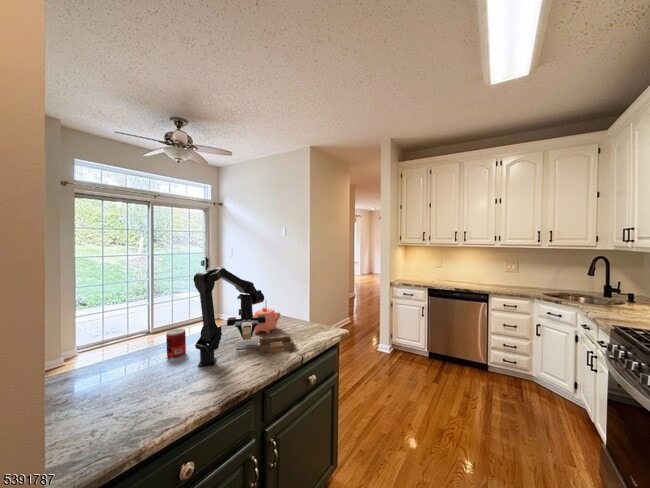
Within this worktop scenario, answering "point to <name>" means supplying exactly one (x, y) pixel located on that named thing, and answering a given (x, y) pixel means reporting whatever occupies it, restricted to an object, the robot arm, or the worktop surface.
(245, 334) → the maple block
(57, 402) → the worktop surface
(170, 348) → the canned food
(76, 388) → the worktop surface
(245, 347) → the rubber mat
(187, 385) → the worktop surface
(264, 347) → the box
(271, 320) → the teapot
